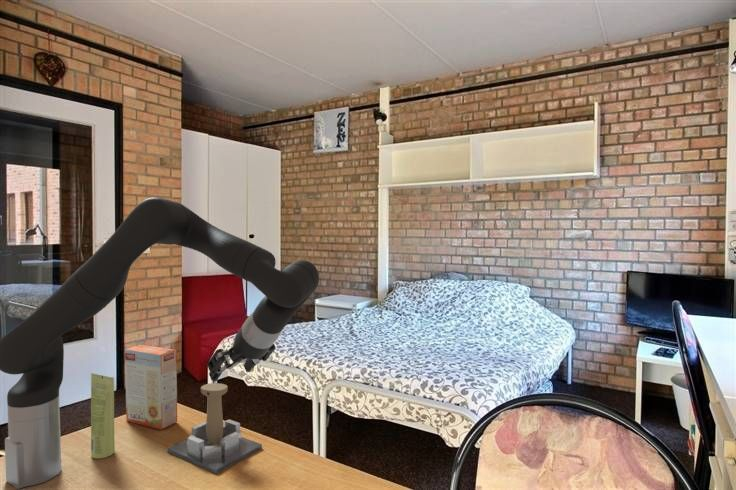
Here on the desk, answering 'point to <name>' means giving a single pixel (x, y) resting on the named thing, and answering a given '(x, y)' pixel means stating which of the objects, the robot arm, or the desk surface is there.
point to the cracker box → (151, 386)
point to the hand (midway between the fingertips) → (229, 373)
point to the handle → (214, 411)
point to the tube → (102, 416)
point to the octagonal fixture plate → (215, 448)
